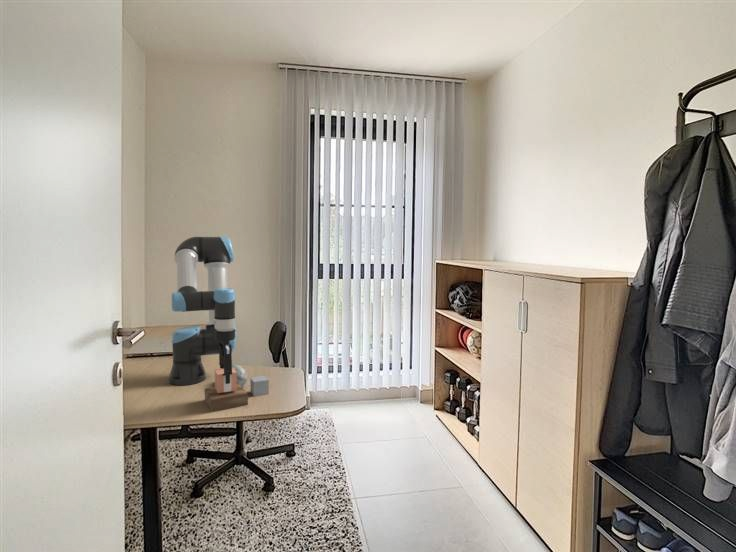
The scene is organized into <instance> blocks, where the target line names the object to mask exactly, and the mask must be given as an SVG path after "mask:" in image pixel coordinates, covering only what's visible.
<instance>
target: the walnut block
mask: <svg viewBox="0 0 736 552" xmlns="http://www.w3.org/2000/svg"><path fill="white" fill-rule="evenodd" d="M248 393H249V392H248V391H246V390H245V388H243V386H242V387H241V386H240V384H239V383H237V391H230V392H223V393H217V391H216V388H215V386H214V387H213V386H212V387H207V388H204V401H205V403H206V405H207V407H208V408H209V409H210V411H211V412H212V413H215V412H218V411H219V412H220V411H224V410H229V409H230V410H231V409H235V408H239V407H244V406H249V394H248Z"/></svg>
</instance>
